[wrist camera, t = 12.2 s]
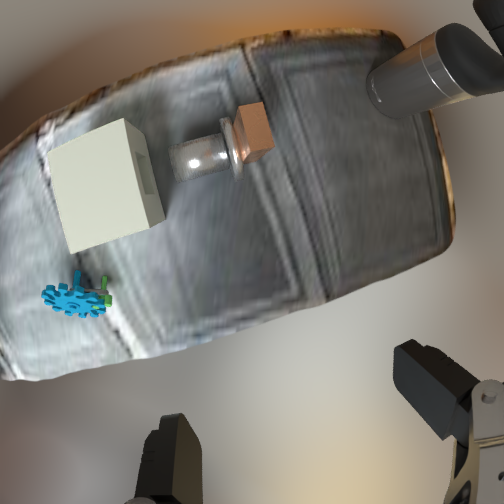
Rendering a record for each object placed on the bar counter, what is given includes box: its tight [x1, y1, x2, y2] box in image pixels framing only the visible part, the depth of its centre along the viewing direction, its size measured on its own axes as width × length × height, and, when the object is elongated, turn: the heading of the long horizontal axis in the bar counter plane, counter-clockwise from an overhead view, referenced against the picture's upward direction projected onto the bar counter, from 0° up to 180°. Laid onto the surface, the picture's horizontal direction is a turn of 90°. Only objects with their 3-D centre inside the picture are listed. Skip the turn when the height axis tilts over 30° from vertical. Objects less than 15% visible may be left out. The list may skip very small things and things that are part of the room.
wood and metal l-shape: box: [168, 102, 275, 183], centre depth 28 cm, size 9×8×14 cm
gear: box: [41, 270, 112, 318], centre depth 34 cm, size 11×6×10 cm
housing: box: [47, 118, 166, 254], centre depth 30 cm, size 10×12×10 cm
